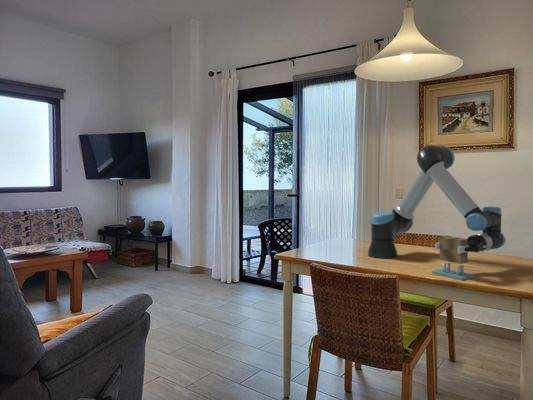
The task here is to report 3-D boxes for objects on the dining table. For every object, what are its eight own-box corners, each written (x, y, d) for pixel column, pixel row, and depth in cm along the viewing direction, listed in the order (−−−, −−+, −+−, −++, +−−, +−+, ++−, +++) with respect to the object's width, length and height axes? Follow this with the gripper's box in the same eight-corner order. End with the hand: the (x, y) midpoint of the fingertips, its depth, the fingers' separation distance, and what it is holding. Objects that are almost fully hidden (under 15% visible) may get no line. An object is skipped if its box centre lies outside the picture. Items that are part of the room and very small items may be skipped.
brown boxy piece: (439, 259, 174) (439, 237, 173) (446, 258, 176) (446, 236, 175) (460, 263, 165) (461, 239, 164) (467, 262, 167) (467, 238, 167)
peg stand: (432, 273, 175) (432, 263, 174) (445, 270, 179) (445, 260, 179) (461, 280, 163) (461, 269, 162) (474, 277, 167) (475, 266, 167)
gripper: (504, 255, 169) (472, 261, 158) (455, 247, 189) (424, 252, 178) (504, 237, 169) (472, 243, 158) (456, 231, 189) (424, 236, 178)
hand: (447, 248), depth 168 cm, fingers closed on brown boxy piece, 10 cm apart
